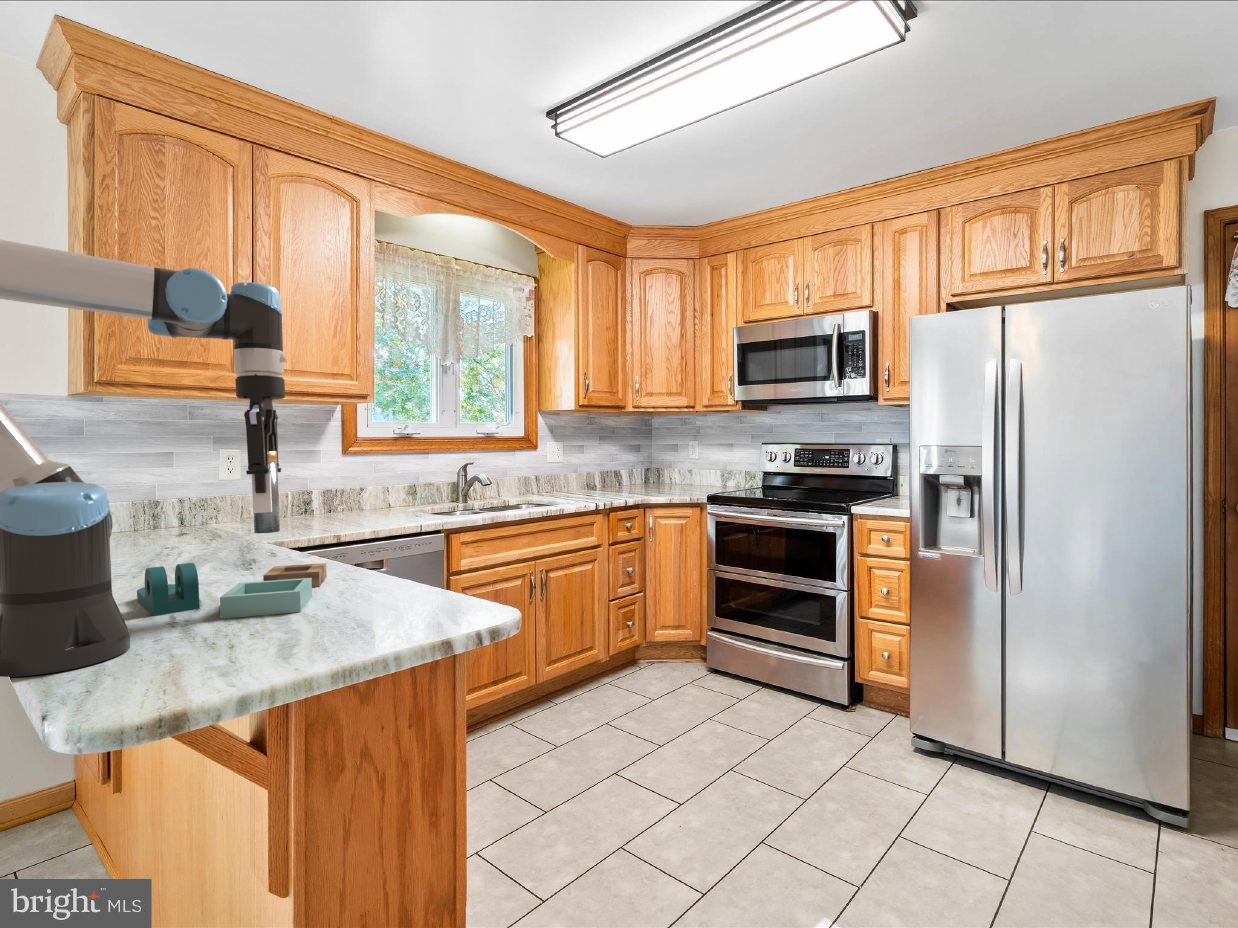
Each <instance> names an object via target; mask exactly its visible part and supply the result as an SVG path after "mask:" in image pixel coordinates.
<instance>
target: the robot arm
mask: <svg viewBox="0 0 1238 928" xmlns="http://www.w3.org/2000/svg"><path fill="white" fill-rule="evenodd" d="M0 300H6V301H12V302H18V303H19V302H20V303H27V304H35V305H36V304H37V305H43V306H49V307H58V308H66V309H71V310H81V311H88V312H95V313H100V314H101V313H102V314H108V315H110V314H111V315H116V316H125V317H130V318H131V317H132V318H138V319H139V318H140V319H145V320H147V329H148V332H150V333H151V334H152V335H155V336H163V337H171V338H175V339H176V338H191V339H192V338H193V339H194V338H195V339H196V338H197V339H215V340H216V339H217V340H219V339H220V340H226V341H227V340H233V356H234V357H233V362H234V373H235V374H237V375H238V376H236V378H235V395H236V396H235V397H237V398H238V399H240V400H249V406H248V409H246V411H244V413H243V417H244V421H245V431H246V448H247V449H246V450H247V451H246V452H247V470H245V473H246V475H251V488H252V487H253V493H252V509H254V513H265V512H272V496H271V474H268V472H269V451H277V470H278V473H281V472H282V468H281V467H280V464H279V443H278V440H279V439H278V419H279V416H278V413H277V410H276V409H274V407H273V400H283V399H285V397H286V387H285V386H286V384H285V383H286V382H285V379H284V377H282V375H283V374H284V373H285V371H284V370H285V367H284V363H287V362H288V358H287V356H284V345H283V344H284V343H283V342H284V341H283V339H284V338H283V310H282V304H281V295H280V292H279V290H278V289H277V288H276V287H274V286H272V285H271V284H266V283H260V282H236V283H234V284H233V285H232V286H231V290H230V293H227V289H226V288H225V286H224V284H223V282H222V281H221V280H220V279H219V278H218V277H217V276H215V275H214V274H213V273H212V272H209V271H208V270H205V269H201V268H195V267H193V268H192V267H191V268H185V269H182V270H174V269H168V268H162V267H160V268H159V267H155V266H151V265H144V264H141V263H140V264H139V263H133V262H128V261H127V262H126V261H123V260H118V259H117V260H116V259H111V258H107V257H106V258H105V257H99V256H94V255H93V256H92V255H89V254H84V253H83V254H82V253H78V252H77V253H76V252H71V251H65V250H59V249H55V248H49V247H42V246H39V245H38V246H37V245H33V244H26V243H21V242H15V241H10V240H5V239H0ZM252 474H254V475H252ZM110 506H111V505H110V501H109V500H108V495H107V491H106V490H105V488H103V487H102V486H101V485H99V484H95V483H87V482H84V481H83V480H82V479H81V477H80V476H79V475H78V473H76V471H75V470H74V469H73V468H72V466H71V465H70V464H69V463H63V462H57V461H52V460H50V459H49V458H48V456H47V455H46V454H45V453H44V452H43V451H42V449H41V448H40V447H39V446H38V445H37V444H36V442H34V440H33V439H32V437H30V435H29V434H28V433H27V432H26V430H25V429H24V428H23V427H22V426H21V424H20V423H19V422H18V421H17V420H16V419H15V418H14V416H13V414H11V413H10V412H9V410H8V409H7V408H6V407H5V406H4V405H3V403H2V402H1V401H0V677H3V678H4V677H5V678H6V677H7V678H13V677H16V678H17V677H27V676H37V675H39V676H40V675H45V674H52V673H57V672H58V673H59V672H63V671H64V672H65V671H69V670H73V669H77V668H78V669H79V668H81V667H87V666H90V665H94V664H97V663H101V662H104V661H107V660H110V659H113V658H116V657H118V656H121V655H122V654H124V653H126V652H127V651H128V650H130V649H131V635H130V629H129V627H128V625H127V624H126V621H125V619H124V617H123V614H122V612H121V611H120V608H119V606H118V604H117V602H116V600H115V598H114V596H113V595H114V594H113V587H112V585H113V584H112V564H111V563H112V562H111V542H110V539H111V536H112V532H113V527H114V525H113V516H112V514H111V510H110V508H111V507H110Z"/></svg>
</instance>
